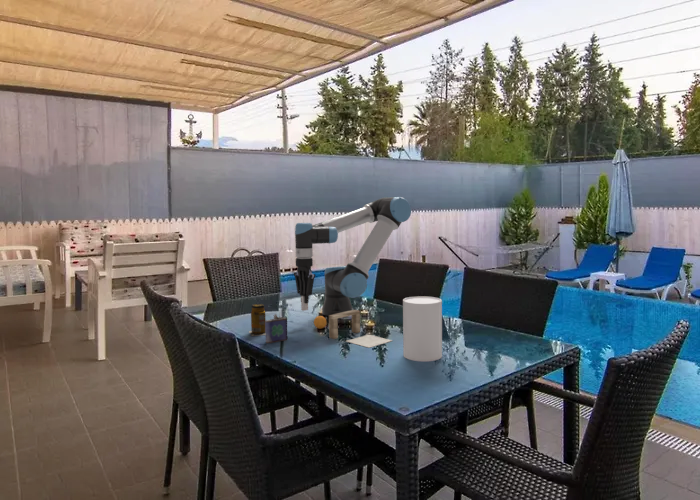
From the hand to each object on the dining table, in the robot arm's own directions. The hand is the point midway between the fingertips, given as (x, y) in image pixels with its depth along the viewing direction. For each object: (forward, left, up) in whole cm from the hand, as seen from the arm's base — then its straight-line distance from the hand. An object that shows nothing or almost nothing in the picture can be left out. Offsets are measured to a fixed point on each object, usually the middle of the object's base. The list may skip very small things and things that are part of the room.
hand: (304, 310), depth 233 cm
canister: (0, +67, -7) cm, 67 cm away
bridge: (0, +26, -7) cm, 27 cm away
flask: (+25, +13, -7) cm, 29 cm away
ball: (0, +10, -4) cm, 11 cm away
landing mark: (0, +40, -7) cm, 41 cm away
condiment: (+23, -3, -7) cm, 24 cm away
